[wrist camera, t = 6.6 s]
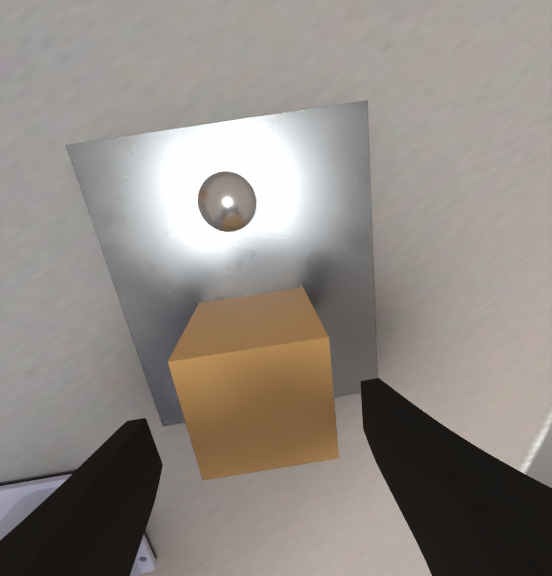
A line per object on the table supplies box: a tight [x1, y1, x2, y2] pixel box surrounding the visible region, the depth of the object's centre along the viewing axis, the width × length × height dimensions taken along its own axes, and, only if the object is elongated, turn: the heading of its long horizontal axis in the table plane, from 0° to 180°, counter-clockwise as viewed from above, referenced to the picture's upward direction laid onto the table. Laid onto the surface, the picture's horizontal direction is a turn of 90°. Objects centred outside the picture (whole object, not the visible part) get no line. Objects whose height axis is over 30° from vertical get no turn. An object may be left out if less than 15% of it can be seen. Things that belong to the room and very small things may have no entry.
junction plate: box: [66, 100, 377, 426], centre depth 12 cm, size 14×12×4 cm
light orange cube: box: [168, 288, 339, 480], centre depth 12 cm, size 5×5×5 cm
